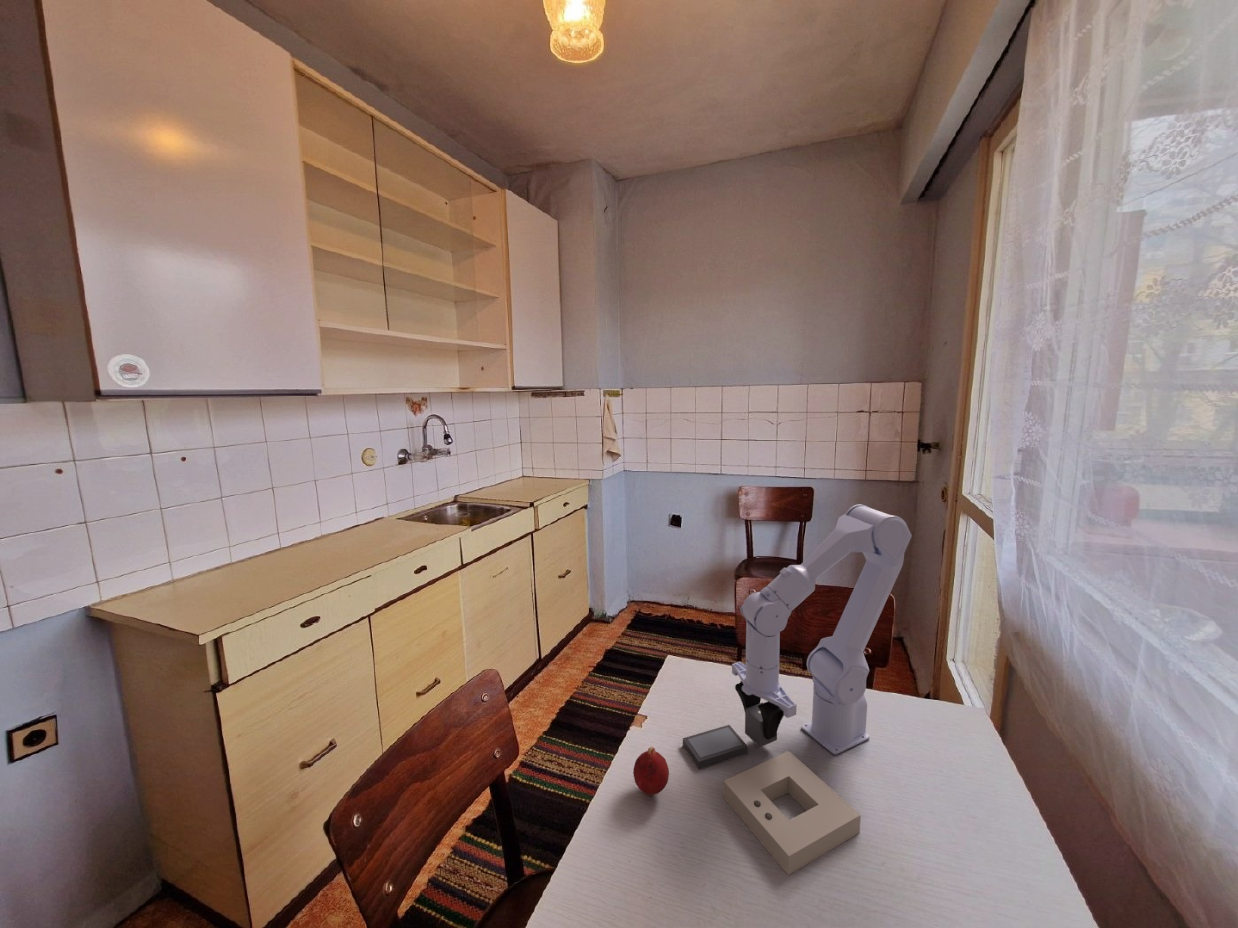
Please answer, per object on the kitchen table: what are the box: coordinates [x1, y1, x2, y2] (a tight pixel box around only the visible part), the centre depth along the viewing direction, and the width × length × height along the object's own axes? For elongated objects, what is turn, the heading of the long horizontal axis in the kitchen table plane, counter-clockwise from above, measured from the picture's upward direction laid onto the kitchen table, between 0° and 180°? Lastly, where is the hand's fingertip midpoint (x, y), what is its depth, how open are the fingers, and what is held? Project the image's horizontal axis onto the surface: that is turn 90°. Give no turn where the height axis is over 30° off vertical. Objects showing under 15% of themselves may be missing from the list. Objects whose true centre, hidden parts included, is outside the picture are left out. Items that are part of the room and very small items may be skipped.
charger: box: [744, 702, 778, 748], centre depth 87 cm, size 4×4×5 cm
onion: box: [632, 746, 670, 796], centre depth 77 cm, size 6×6×8 cm
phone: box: [682, 724, 749, 770], centre depth 87 cm, size 10×6×2 cm, turn 110°
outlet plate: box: [722, 751, 861, 876], centre depth 73 cm, size 14×14×3 cm
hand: (761, 728), depth 87 cm, fingers closed on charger, 4 cm apart
